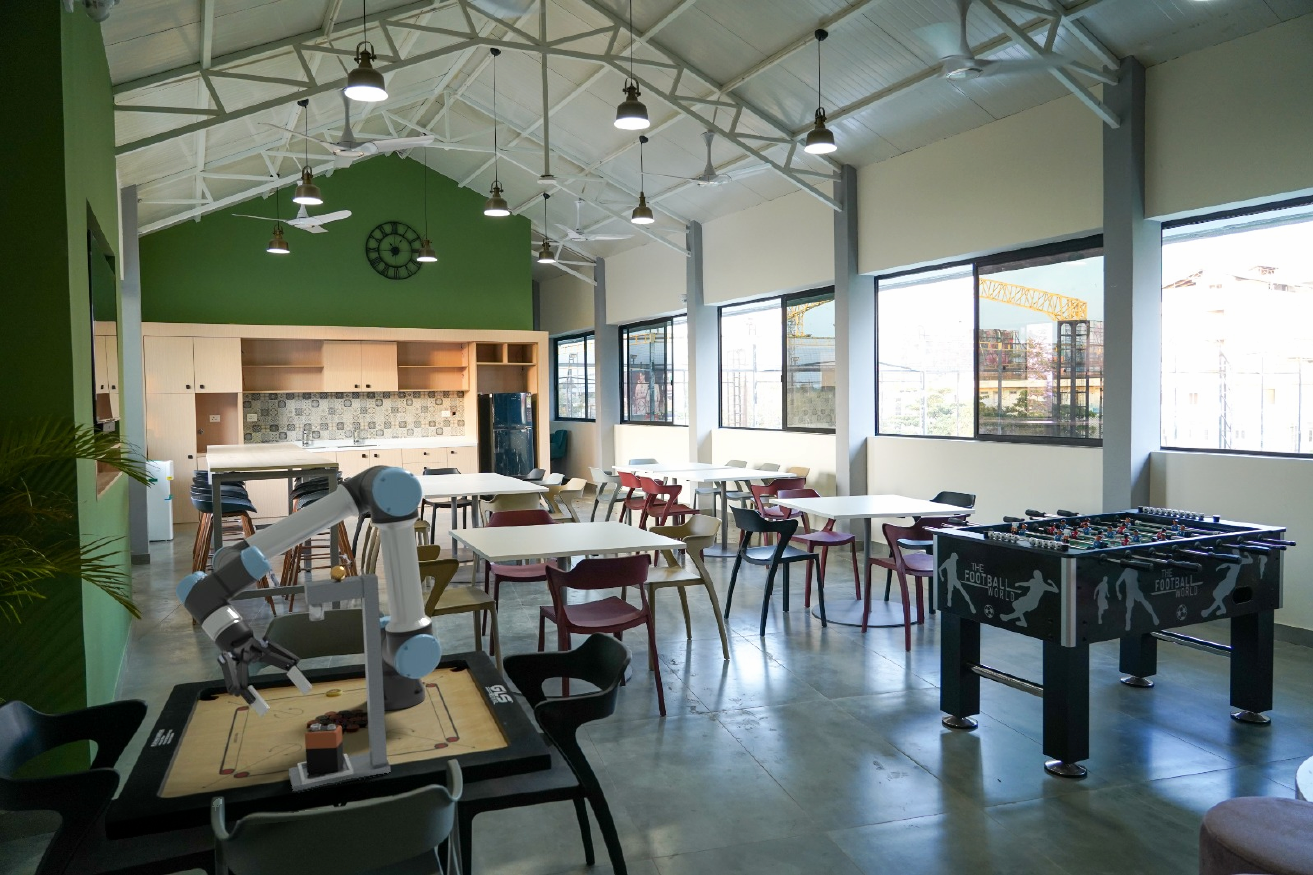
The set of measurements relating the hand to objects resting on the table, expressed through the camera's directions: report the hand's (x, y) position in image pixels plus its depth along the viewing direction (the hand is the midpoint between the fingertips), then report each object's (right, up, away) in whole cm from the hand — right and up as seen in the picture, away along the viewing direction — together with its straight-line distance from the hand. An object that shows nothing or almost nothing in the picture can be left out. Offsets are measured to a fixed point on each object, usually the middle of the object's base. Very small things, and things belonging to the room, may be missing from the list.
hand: (287, 701), depth 201 cm
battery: (+9, -15, -2) cm, 17 cm away
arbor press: (+12, -16, 0) cm, 20 cm away
